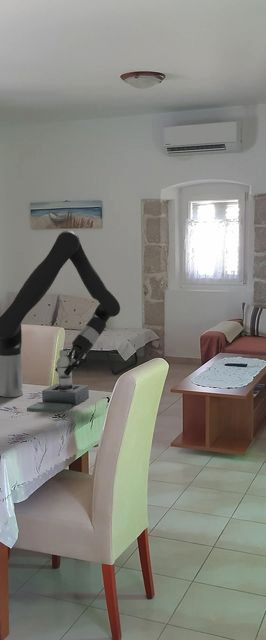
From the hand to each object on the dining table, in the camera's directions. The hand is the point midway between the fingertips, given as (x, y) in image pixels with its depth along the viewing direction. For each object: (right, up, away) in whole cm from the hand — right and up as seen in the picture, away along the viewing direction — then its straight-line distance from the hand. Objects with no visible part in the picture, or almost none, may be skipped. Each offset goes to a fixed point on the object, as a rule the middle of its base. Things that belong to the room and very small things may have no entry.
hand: (61, 372), depth 254 cm
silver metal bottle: (+2, -11, +2) cm, 12 cm away
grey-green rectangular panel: (-4, -13, -10) cm, 16 cm away
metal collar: (+2, -11, +2) cm, 11 cm away
